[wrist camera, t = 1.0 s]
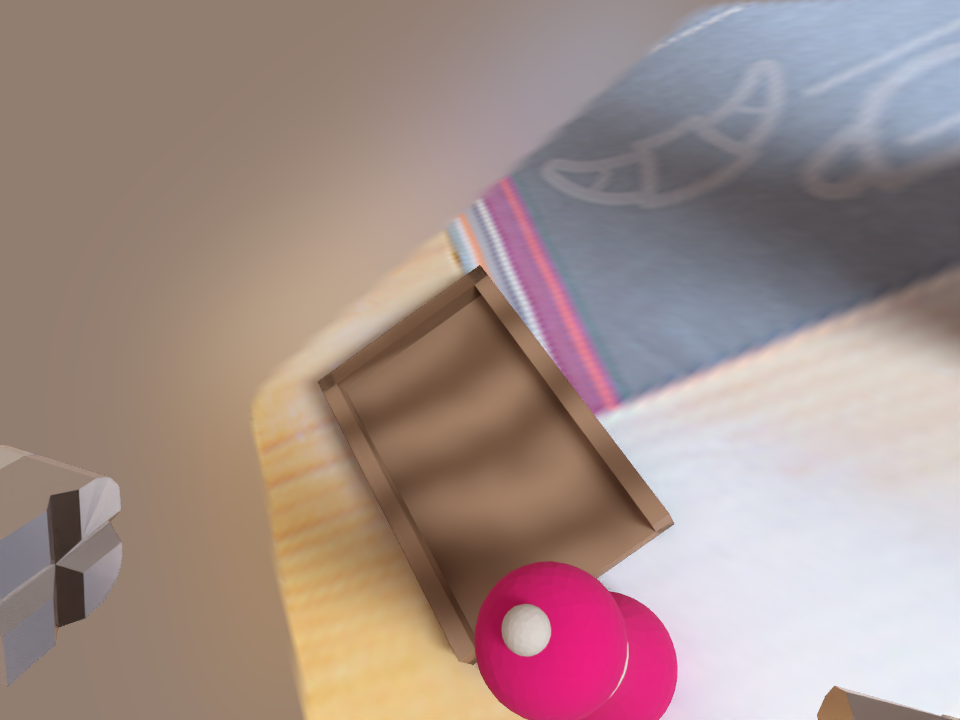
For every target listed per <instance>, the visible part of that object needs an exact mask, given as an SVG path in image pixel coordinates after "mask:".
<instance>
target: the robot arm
mask: <svg viewBox="0 0 960 720" xmlns="http://www.w3.org/2000/svg"><path fill="white" fill-rule="evenodd" d="M120 511H121V502H120V488H119V485H118V484H117V483H115V482H114V481H113V480H112V479H111V478H110V477H108V476H105V475H101V474H98V473H95V472H92V471H89V470H85V469H82V468H79V467H76V466H73V465H69V464H66V463H63V462H60V461H57V460H54V459H51V458H47V457H44V456H41V455H35V454H33V453H30V452H27V451H23V450H20V449H16V448H13V447H10V446H7V445H0V685H4V686H6V687H8V686H9V685H10V684H11V683H12V682H14V681H15V680H16V679H17V678H18V677H19V676H20V675H21V674H23V673H24V672H25V671H26V670H27V669H28V668H30V667H31V666H32V665H33V664H34V663H35V662H36V661H38V660H39V659H40V658H41V657H42V656H43V655H44V654H46V653H47V652H48V651H49V650H50V649H51V648H52V647H54V646H55V645H56V640H57V634H58V629H59V627H62V626H65V625H68V624H70V623H74V622H76V621H80V620H82V619H85V618H86V617H87V616H89V614H91V613H92V612H93V611H94V610H95V609H96V608H97V607H98V606H99V605H100V604H101V603H102V602H104V600H105V598H106V597H107V595H108V593H109V591H110V590H111V588H112V587H113V585H114V583H115V582H116V580H117V578H118V574H119V570H120V566H121V562H122V541H121V539H120V538H119V536H118V534H117V533H116V531H115V529H114V528H113V526H112V525H111V523H110V522H111V521H112V520H113V519H114V518H115V516H116V515H117V514H118V513H119V512H120ZM817 717H818V720H960V719H958V718H954V717H951V716H947V715H941V716H940V715H936V714H933V713H929V712H926V711H922V710H919V709H915V708H912V707H908V706H905V705H901V704H898V703H894V702H891V701H887V700H883V699H880V698H876V697H873V696H869V695H866V694H862V693H859V692H855V691H852V690H848V689H844V688H841V687H837V686H834V687H833V688H832V689H831V690H830V691H829V693H828V694H827V695H826V696H825V698H824V700H823V703H822V705H821V707H820V709H819V712H818V714H817Z"/></svg>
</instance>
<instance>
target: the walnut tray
mask: <svg viewBox="0 0 960 720" xmlns="http://www.w3.org/2000/svg"><path fill="white" fill-rule="evenodd" d="M318 383H319V385H320V387H321V389H322V391H323V393H324V395H325V397H326V399H327V401H328V403H329V405H330V407H331V409H332V411H333V413H334V415H335V417H336V419H337V421H338V423H339V425H340V427H341V429H342V431H343V433H344V435H345V437H346V439H347V441H348V443H349V445H350V447H351V449H352V451H353V453H354V455H355V457H356V459H357V461H358V463H359V465H360V467H361V469H362V470H363V472H364V474H365V476H366V478H367V480H368V482H369V484H370V486H371V488H372V490H373V492H374V494H375V496H376V498H377V500H378V502H379V504H380V506H381V508H382V510H383V512H384V514H385V516H386V518H387V520H388V522H389V524H390V526H391V528H392V530H393V532H394V534H395V536H396V538H397V540H398V542H399V544H400V546H401V548H402V550H403V552H404V554H405V556H406V558H407V560H408V562H409V564H410V566H411V568H412V570H413V572H414V574H415V576H416V578H417V580H418V582H419V584H420V586H421V588H422V590H423V592H424V594H425V596H426V598H427V600H428V602H429V604H430V606H431V607H432V609H433V611H434V613H435V615H436V617H437V619H438V621H439V623H440V625H441V627H442V629H443V631H444V633H445V635H446V637H447V639H448V641H449V643H450V645H451V647H452V649H453V651H454V653H455V655H456V657H457V659H458V661H459V662H464V663H468V664H472V665H474V664H475V663H476V662H477V659H476V654H475V642H474V637H475V626H476V622H477V618H478V614H479V611H480V608H481V606H482V603H483V602H484V600H485V598H486V597H487V595H488V594H489V592H490V591H491V589H492V588H493V587H494V586H495V585H496V583H497V582H498V581H499V580H500V579H501V578H503V577H504V576H505V575H507V574H508V573H510V572H511V571H513V570H515V569H517V568H519V567H522V566H524V565H528V564H532V563H535V562H546V561H554V562H559V563H565V564H569V565H572V566H575V567H578V568H580V569H582V570H584V571H586V572H588V573H589V574H591V575H592V576H593V577H595V578H596V579H597V578H598V577H599V576H601V575H602V574H604V573H605V572H607V571H608V570H609V569H611V568H612V567H614V566H615V565H617V564H618V563H619V562H621V561H622V560H624V559H625V558H627V557H628V556H629V555H631V554H632V553H634V552H635V551H637V550H638V549H639V548H641V547H642V546H644V545H645V544H647V543H648V542H649V541H651V540H652V539H654V538H655V537H657V536H658V535H659V534H661V533H662V532H664V531H665V530H667V529H668V528H669V527H671V526H672V525H674V522H673V520H672V518H671V516H670V514H669V513H668V511H667V510H666V509H665V507H664V506H663V505H662V504H661V502H660V501H659V500H658V498H657V497H656V496H655V494H654V493H653V492H652V490H651V489H650V488H649V486H648V485H647V484H646V482H645V481H644V480H643V479H642V477H641V476H640V475H639V473H638V472H637V471H636V469H635V468H634V467H633V465H632V464H631V463H630V461H629V460H628V459H627V458H626V456H625V455H624V454H623V452H622V451H621V450H620V448H619V447H618V446H617V444H616V443H615V442H614V440H613V439H612V438H611V436H610V435H609V434H608V433H607V431H606V430H605V429H604V427H603V426H602V425H601V423H600V422H599V421H598V419H597V418H596V417H595V415H594V414H593V413H592V412H591V410H590V409H589V408H588V406H587V405H586V404H585V402H584V401H583V400H582V398H581V397H580V396H579V394H578V393H577V392H576V390H575V389H574V388H573V387H572V385H571V384H570V383H569V381H568V380H567V379H566V377H565V376H564V375H563V373H562V372H561V371H560V369H559V368H558V367H557V366H556V364H555V363H554V362H553V360H552V359H551V358H550V356H549V355H548V354H547V352H546V351H545V350H544V348H543V347H542V346H541V344H540V343H539V342H538V341H537V339H536V338H535V337H534V335H533V334H532V333H531V331H530V330H529V329H528V327H527V326H526V325H525V323H524V322H523V321H522V320H521V318H520V317H519V316H518V314H517V313H516V312H515V310H514V309H513V308H512V306H511V305H510V304H509V302H508V301H507V300H506V298H505V297H504V296H503V295H502V293H501V292H500V291H499V289H498V288H497V287H496V285H495V284H494V283H493V281H492V280H491V279H490V277H489V276H488V275H487V273H486V272H485V271H484V270H483V268H482V267H481V266H480V265H479V266H478V267H477V268H475V269H474V270H472V271H471V272H470V273H468V274H467V275H465V276H464V277H463V278H461V279H460V280H459V281H457V282H456V283H454V284H453V285H452V286H450V287H449V288H447V289H446V290H445V291H443V292H442V293H440V294H439V295H438V296H436V297H435V298H434V299H432V300H431V301H429V302H428V303H427V304H425V305H424V306H422V307H421V308H420V309H418V310H417V311H416V312H414V313H413V314H411V315H410V316H409V317H407V318H406V319H404V320H403V321H402V322H400V323H399V324H397V325H396V326H395V327H393V328H392V329H391V330H389V331H388V332H386V333H385V334H384V335H382V336H381V337H379V338H378V339H377V340H375V341H374V342H373V343H371V344H370V345H368V346H367V347H366V348H364V349H363V350H361V351H360V352H359V353H357V354H356V355H354V356H353V357H352V358H350V359H349V360H348V361H346V362H345V363H343V364H342V365H341V366H339V367H338V368H336V369H335V370H334V371H332V372H331V373H329V374H328V375H327V376H325V377H324V378H323V379H321V380H320V381H318Z"/></svg>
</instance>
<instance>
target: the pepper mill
mask: <svg viewBox="0 0 960 720" xmlns="http://www.w3.org/2000/svg"><path fill="white" fill-rule="evenodd" d="M474 642H475V654H476V659H477V663H478V667H479V670H480V673H481V675H482V677H483V679H484V681H485V683H486V685H487V686H488V688H489V689H490V690H491V692H492V693H493V694H494V696H495V697H496V698H497V699H498V701H499V702H501V703H502V704H503V705H504V706H506V707H507V708H508V709H509V710H511V711H512V712H514V713H516V714H518V715H519V716H521V717H523V718H525V719H528V720H659V719H660V718H661V717H662V715H663V714H664V713H665V711H666V710H667V708H668V706H669V704H670V702H671V700H672V697H673V694H674V692H675V687H676V682H677V659H676V653H675V649H674V646H673V642H672V640H671V638H670V636H669V633H668V631H667V630H666V628H665V627H664V625H663V623H662V622H661V621H660V620H659V618H658V617H657V616H656V615H655V614H654V613H653V612H652V611H651V610H650V609H649V608H647V607H646V606H645V605H643V604H642V603H640V602H638V601H637V600H635V599H633V598H631V597H628V596H625V595H623V594H620V593H615V592H609V591H608V590H607V589H606V588H605V587H604V586H603V585H602V584H601V583H600V582H599V581H598V580H597V579H596V578H595V577H593V576H592V575H591V574H589V573H588V572H586V571H584V570H582V569H580V568H578V567H575V566H572V565H569V564H565V563H559V562H554V561H546V562H535V563H532V564H528V565H524V566H522V567H519V568H517V569H515V570H513V571H511V572H510V573H508V574H507V575H505V576H504V577H503V578H501V579H500V580H499V581H498V582H497V583H496V585H495V586H494V587H493V588H492V589H491V591H490V592H489V594H488V595H487V597H486V598H485V600H484V602H483V603H482V606H481V608H480V611H479V614H478V618H477V622H476V626H475V637H474Z"/></svg>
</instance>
